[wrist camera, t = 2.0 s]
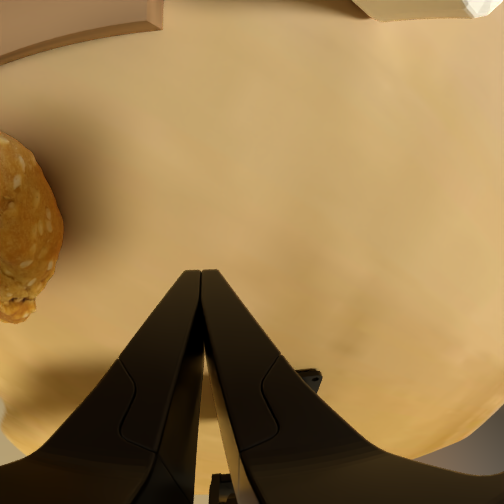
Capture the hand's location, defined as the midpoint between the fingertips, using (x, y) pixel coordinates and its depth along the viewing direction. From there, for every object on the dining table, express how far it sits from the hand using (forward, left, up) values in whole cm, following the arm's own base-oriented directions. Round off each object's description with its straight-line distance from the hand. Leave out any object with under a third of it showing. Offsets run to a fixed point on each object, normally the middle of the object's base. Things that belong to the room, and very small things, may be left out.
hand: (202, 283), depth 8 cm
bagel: (0, +11, -6) cm, 13 cm away
